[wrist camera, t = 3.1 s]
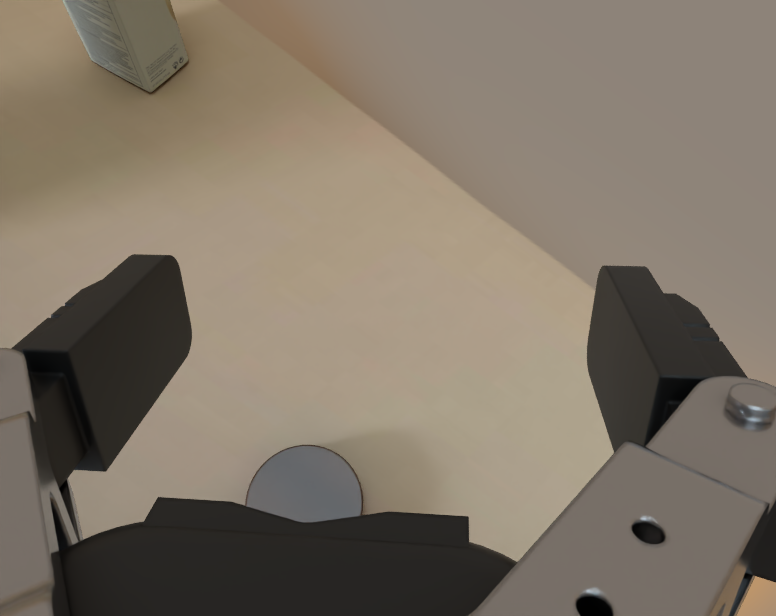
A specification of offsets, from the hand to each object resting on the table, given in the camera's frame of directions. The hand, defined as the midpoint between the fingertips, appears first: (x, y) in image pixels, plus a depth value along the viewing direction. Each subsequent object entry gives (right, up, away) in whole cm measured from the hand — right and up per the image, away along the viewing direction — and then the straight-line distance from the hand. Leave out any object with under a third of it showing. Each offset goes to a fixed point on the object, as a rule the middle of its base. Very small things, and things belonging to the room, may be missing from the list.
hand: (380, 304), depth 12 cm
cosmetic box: (-18, +18, +35) cm, 43 cm away
